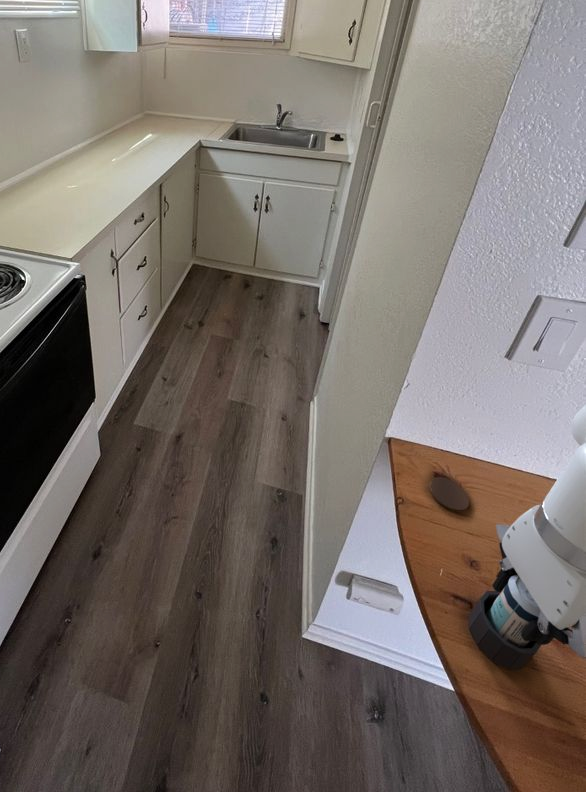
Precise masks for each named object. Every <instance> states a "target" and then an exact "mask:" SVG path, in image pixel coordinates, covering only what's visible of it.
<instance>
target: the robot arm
mask: <svg viewBox="0 0 586 792" xmlns="http://www.w3.org/2000/svg"><path fill="white" fill-rule="evenodd" d="M570 431H571V434H572V437H573V439H574V440H575V442H576V443H577V444H578V445H579V447H577V449H576V450H575V452H574V453H573V455H572V456H571V457H570V458H569V461H568V463H567V464H566V465H565V467H564V468H563V470H562V471H561V473H560V474H559V476H558V478H556V481H555V482H554V483H553V485H552V487H551V488H550V490H549V491H548V493H547V494H546V496H545V498H543V500H542V502H541V503H540V504H537V505H534V506H532V507H531V508H530V509H528V510H527V511H525V512H524V513H522V514H521V515H520V516H519V517H518V518H516V520H515V521H514V522H513V523H512V524H511V525H510V524H496V525H495V530H496V532H497V536H498V537H497V538H498V540H499V541H500V542H499V549H500V554H501V555H500V556H501V559H500V560H499V563H498V564H499V567H500V570H499V572H498V573H497V574H496V578H495V580H494V582H493V583H492V584H491V587H492V588H493V591H497V592H501V591H502V590H503V588H504V587H505V586H506V584H507V583H508V581H509V579H510V578H511V577H512V576H514V575H519V577H520V578H521V580H522V582H523V583H524V585H525V586H526V588H527V589H528V591H529V592H530V594H531V595H532V597H533V599H534V600H535V602H536V603H537V605H538V606H539V608H540V614H539V618H538V620H531V621H530V622H529V624H528V625H527V626H526V627H525V629H524V630H523V631H522V632H521V634H522V635H521V636H522V638H523V639H524V641H536V643H537V644H538V645H541V646H545V645H548V644H550V643H551V642H552V641H553V640H556V641H558V642H559V643H561V644H563V645H567V646H568V647H569V649H570V650H571V651H573V652H574V653H575V654H576V655H578V656H579V657H580V658H582V659H586V404H584V405H583V406H582V407H581V408H580V409H579V410H578V411H577V412H576V414H575V415H574V417H573V419H572V420H571V424H570Z"/></svg>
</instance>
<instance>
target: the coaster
mask: <svg viewBox="0 0 586 792" xmlns="http://www.w3.org/2000/svg"><path fill="white" fill-rule="evenodd" d="M428 488H429V493H430V494H431V497H432V498H433V499H434V500H435V502H437V503H438V504H439V505H440V506H442V507H443V508H444V509H446V510H449V511H451V512H455V513H461V512H462V513H463V512H465V511H466V510H467V509H468V507H469V505H470V498H469V495H468V494H467V492H466V491H465V489H464V488H463V487H462V486H461V485H460V484H459V483H457V482H455V481H454V480H452V479H450V478H447V477H443V476H436V477H434V478H433V479H432V480H430V483H429V487H428Z"/></svg>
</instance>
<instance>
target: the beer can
mask: <svg viewBox="0 0 586 792" xmlns="http://www.w3.org/2000/svg"><path fill="white" fill-rule="evenodd" d="M539 614H540V608H539V606H538V605H537V603H536V602H535V600H534V599H533V597H532V595H531V594H530V592H529V591H528V589H527V588H526V586H525V585H524V583H523V582H522V580H521V578H520V577H519V575H514V576H512V577H511V578H510V579H509V581H508V583H507V584H506V586H505V587H504V588H503V590H502V591H501V593H500V594H499V596H498V597H497V599H496V600H495V601H494V603H493V604H492V606H491V607H490V609H489V610H488V612H485V615H486V617H487V619H488V620H489V622H490V624H491V626H492V628H493V629H494V630H495V631H496V632H497V633H498V634H499V635H500V636H501V637H502V638H503V639H504V640H505V641H507V642H509V643H511V644H513V645H515V646H517V647H519V648H524V647H525V646H526V645H527V644H528V642H529V641H524V639H523V638H522V636H521V635H522V634H521V632H522V631H523V630H524V629H525V627H526V626H527V625H528V624H529V622H530V621H531V620H538V618H539Z"/></svg>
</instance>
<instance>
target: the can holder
mask: <svg viewBox="0 0 586 792" xmlns="http://www.w3.org/2000/svg"><path fill="white" fill-rule="evenodd" d="M500 593H501V592H497V591H496V590H485V592H484V593H483V594H482V595H481V596H480V598H479V599H478V600H477V602H476V603H475V605H474V606H473V608H472V609H471V611H470V613H468V616H467V618H468V620H467V621H468V631H469V632H470V635H471V636H472V639H473V641H474V643H475V645H476V646H477V648H478V649H479V650H480V651H481V652H482V653H483V654H484V655H485V656H486V657H487V659H488V660H490V661H491V662H492V663H494V664H496V665H498V666H500V667H502V668H503V669H505V670H509V671H512V670H513V671H515V670H522V669H523V668H524V667H525V666H526V665H527V664H528V663H529V661H531V659H532V658H533V657H534V656H535V655H536V654H537V653H538V651H539V650H540V648H541V646H542V645H538V644H537V643H536V641H529V642H528V644H527V645H526V646H525V647H524V648H519V647H517V646H515V645H513V644H511V643H509V642H507V641H505V640H504V639H503V638H502V637H501V636H500V635H499V634H498V633H497V632H496V631H495V630H494V629H493V628H492V626H491V624H490V622H489V620H488V619H487V617H486V615H485V614H486V613H487V612H488V610H489V609H490V607H491V606H492V604H493V603H494V601H495V600H496V599H497V597H498V596H499V594H500Z"/></svg>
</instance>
